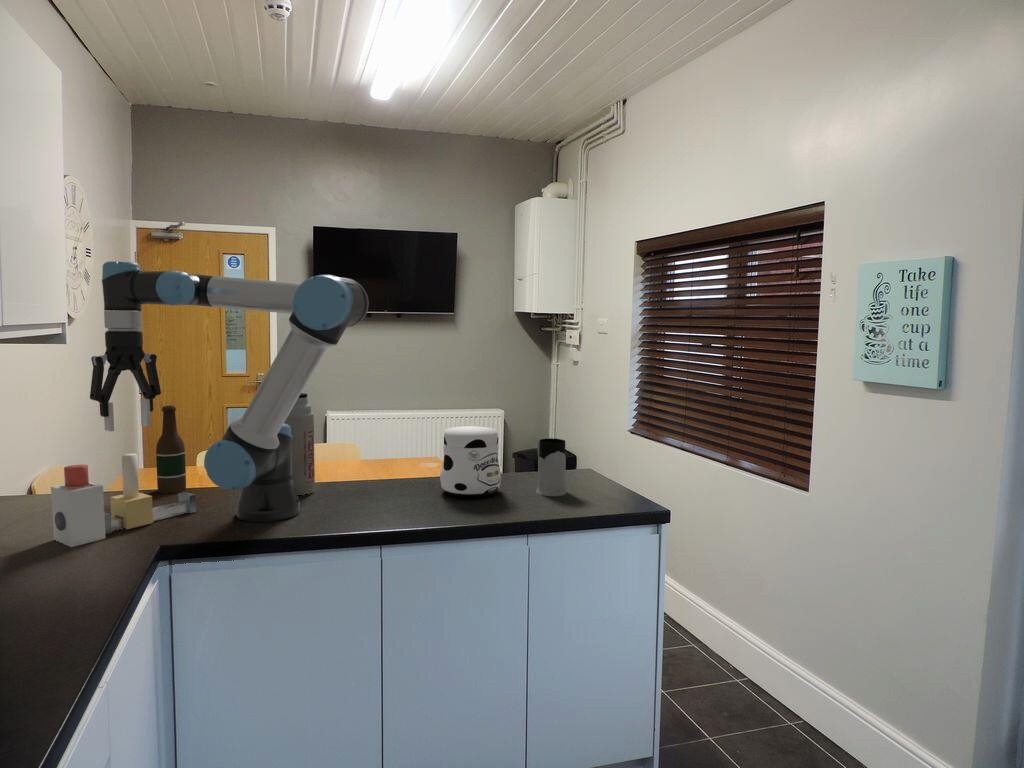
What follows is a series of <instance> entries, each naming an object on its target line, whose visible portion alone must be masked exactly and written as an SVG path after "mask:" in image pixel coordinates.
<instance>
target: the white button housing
mask: <svg viewBox="0 0 1024 768" xmlns="http://www.w3.org/2000/svg"><path fill="white" fill-rule="evenodd" d="M50 495H51V496H50V497H51V498H50V499H51V513H52V514H51V515H52V516H51V517H52V530H53V531H52V532H53V540H54V541H55V540H56V542H58V541H59V543H60V544H62V543H63V545H65V546H68V547H70V548H73V547H77V546H82V545H86V544H90V543H93V542H97V541H101V540H105V539H106V537H107V536H106V535H105V515H104V512H105V500H104V497H105V496H104V485H102V484H99V483H95V482H92V481H89V484H88V485H85V486H80V487H65V483H63V484H58V485H57V484H56V485H52V486H50Z"/></svg>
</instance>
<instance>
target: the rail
mask: <svg viewBox="0 0 1024 768" xmlns="http://www.w3.org/2000/svg"><path fill="white" fill-rule="evenodd" d="M177 494H178V501H176V502H175V501H174V502H171V503H167V504H163V505H158V506H153V522H158V521H161V520H164V519H168V518H173V517H177V516H181V515H184V513H185V514H193V512H194V513H196V512H197V504H196V503H197V502H196V500H197V499H196V494H194V493H190V492H188V491H182V492H179V493H177ZM104 515H105V534H107V535H109V534H108V533H111V534H112V533H113V532H115V531H114V530H117V531H120V530H119V529H121V530H125V529H124V528H123V517H120V516H115V517H112V514H111V513H109V512H106V511H104ZM111 531H113V532H111Z"/></svg>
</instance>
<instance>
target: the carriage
mask: <svg viewBox="0 0 1024 768" xmlns="http://www.w3.org/2000/svg"><path fill="white" fill-rule="evenodd" d="M138 461H139V459H138V453H125V454H121V469H122V490H123V491H122V492H123V493H122V494H119V495H113V496H110V512H111V513H110V514H111V517H115V516H120V517H123V528H125V529H124V530H130V529H134V528H139V527H143V526H147V525H149V524H153V523H154V521H153V508H154V506H153V495H150V494H146V493H143V492H140V491H139V490H140V489H139V464H138Z"/></svg>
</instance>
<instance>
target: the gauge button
mask: <svg viewBox="0 0 1024 768" xmlns="http://www.w3.org/2000/svg"><path fill="white" fill-rule="evenodd" d="M63 473H64V476H63V477H64V484H65V487H80V486H85V485H88V484H89V482H90V480H89V479H90V478H89V465H88V464H73V465H68V466H65V467H64V468H63Z"/></svg>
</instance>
